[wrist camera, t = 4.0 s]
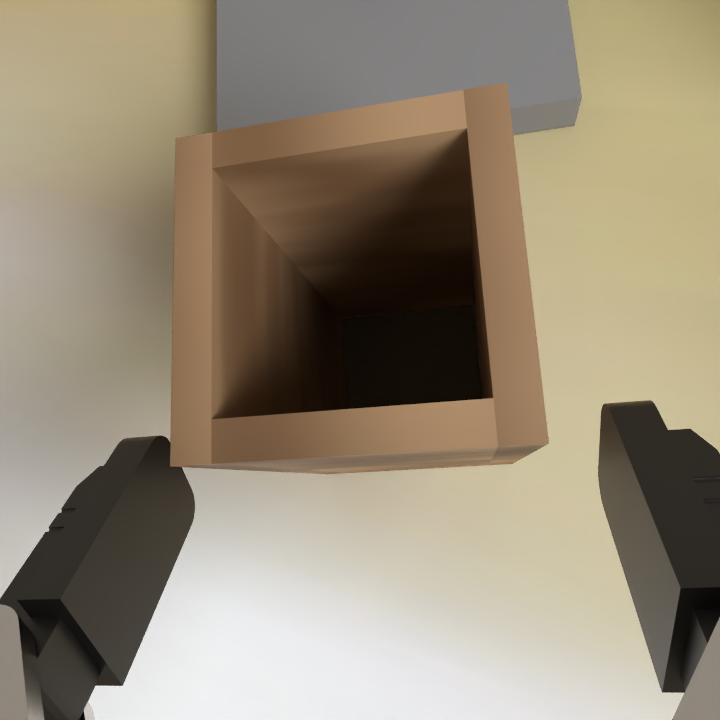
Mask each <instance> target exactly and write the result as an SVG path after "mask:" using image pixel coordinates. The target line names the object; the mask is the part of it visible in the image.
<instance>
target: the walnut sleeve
mask: <svg viewBox="0 0 720 720" xmlns="http://www.w3.org/2000/svg"><path fill="white" fill-rule="evenodd" d="M468 305H474V311H475V322H476V333H477V343H478V354H479V365H480V375H481V386H482V397H483V399H475V400H462V401H448V402H435V403H422V404H409V405H395V406H382V407H369V408H356V409H345V392H344V370H343V347H342V325H341V319H343V318H353V317H362V316H372V315H382V314H391V313H401V312H411V311H420V310H430V309H439V308H449V307H459V306H468ZM547 444H549V441H548V432H547V424H546V415H545V406H544V398H543V389H542V380H541V372H540V363H539V355H538V346H537V337H536V329H535V320H534V311H533V303H532V294H531V285H530V277H529V268H528V259H527V251H526V242H525V233H524V225H523V216H522V207H521V199H520V190H519V181H518V173H517V164H516V155H515V147H514V138H513V129H512V121H511V112H510V103H509V95H508V86H507V83H501V84H495V85H489V86H483V87H477V88H471V89H465V90H459V91H453V92H448V93H442V94H436V95H430V96H424V97H418V98H412V99H406V100H400V101H394V102H388V103H382V104H377V105H371V106H365V107H359V108H353V109H347V110H341V111H335V112H329V113H323V114H317V115H311V116H305V117H300V118H294V119H288V120H282V121H276V122H270V123H264V124H258V125H252V126H246V127H240V128H234V129H228V130H223V131H217V132H211V133H205V134H199V135H193V136H187V137H181V138H176V153H175V212H174V270H173V329H172V388H171V446H170V466H171V467H192V468H213V469H233V470H254V471H275V472H296V473H316V474H336V473H354V472H372V471H390V470H408V469H426V468H444V467H462V466H480V465H498V464H513V463H515V462H516V461H518V460H520V459H522V458H524V457H525V456H527V455H529V454H531V453H532V452H534V451H536V450H538V449H540V448H541V447H543V446H545V445H547Z"/></svg>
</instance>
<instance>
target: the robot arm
mask: <svg viewBox="0 0 720 720" xmlns="http://www.w3.org/2000/svg"><path fill="white" fill-rule="evenodd" d="M170 446H171V443H170V442H169V440H168V439H167V438H166V437H164V436H150V437H136V438H126V439H123V440H122V441H121V442H120V443H119V444H118V445H117V447H116V448H115V450H114V451H113V453H112V454H111V456H110V457H109V459H108V460H107V462H106V464H105V465H104V466H99V467H98V468H97V469H96V470H95V471H94V472H93V473H91V474H90V475H89V476H88V477H87V478H86V479H85V480H83V481H82V482H81V483H80V484H79V485H78V486H77V487H76V488H75V490H74V491H73V493H72V494H71V495H70V497H69V498H68V500H67V501H66V503H65V504H64V506H63V507H62V512H61V513H58V515H57V516H56V518H55V519H54V520H53V522H52V523H51V525H50V526H49V532H45V534H44V535H43V537H42V538H41V540H40V541H39V543H38V544H37V545H36V547H35V548H34V550H33V551H32V553H31V554H30V556H29V557H28V559H27V560H26V562H25V563H24V565H23V566H22V568H21V569H20V570H19V572H18V573H17V575H16V576H15V578H14V579H13V581H12V582H11V584H10V585H9V587H8V588H7V590H6V591H5V593H4V594H3V595H2V597H1V598H0V720H95V717H94V713H93V709H92V707H91V706H90V704H89V703H88V700H89V698H90V696H91V694H92V691H93V689H94V687H95V685H103V686H123V684H124V681H125V679H126V677H127V674H128V672H129V670H130V667H131V665H132V663H133V660H134V658H135V656H136V653H137V651H138V649H139V646H140V644H141V642H142V639H143V637H144V635H145V632H146V630H147V628H148V625H149V623H150V621H151V618H152V616H153V614H154V611H155V609H156V607H157V604H158V602H159V600H160V597H161V595H162V593H163V590H164V588H165V586H166V583H167V581H168V579H169V576H170V574H171V572H172V569H173V567H174V565H175V562H176V560H177V558H178V555H179V553H180V551H181V548H182V546H183V544H184V541H185V539H186V537H187V534H188V532H189V530H190V527H191V525H192V522H193V518H194V512H195V501H194V495H193V492H192V489H191V487H190V485H189V483H188V480H187V478H186V476H185V474H184V472H183V469H182V467H171V466H170ZM598 477H599V487H600V494H601V499H602V503H603V507H604V510H605V513H606V517H607V520H608V523H609V526H610V529H611V532H612V536H613V539H614V542H615V545H616V548H617V551H618V555H619V558H620V561H621V564H622V567H623V570H624V574H625V577H626V580H627V583H628V586H629V589H630V593H631V596H632V599H633V602H634V605H635V608H636V612H637V615H638V618H639V621H640V624H641V627H642V631H643V634H644V637H645V640H646V643H647V646H648V650H649V653H650V656H651V659H652V662H653V665H654V669H655V672H656V675H657V678H658V681H659V684H660V688H661V691H662V692H683V693H684V695H683V698H682V700H681V702H680V704H679V706H678V708H677V711H676V713H675V715H674V717H673V719H672V720H720V454H719V452H718V450H717V449H716V448H714V447H713V446H712V445H710V444H709V443H708V442H707V441H705V440H704V439H703V438H701V437H700V436H699V435H698V434H696V433H695V432H694V431H693V430H691V429H680V430H668V429H667V427H666V425H665V423H664V421H663V419H662V417H661V415H660V413H659V412H658V410H657V408H656V406H655V404H654V403H653V402H652V401H650V400H649V401H635V402H622V403H609V404H604V405H603V406H602V411H601V426H600V446H599V465H598Z"/></svg>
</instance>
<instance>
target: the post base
mask: <svg viewBox="0 0 720 720" xmlns="http://www.w3.org/2000/svg"><path fill="white" fill-rule="evenodd" d="M501 83H507V86H508V95H509V103H510V112H511V121H512V129H513V135H515V134H522V133H528V132H535V131H541V130H548V129H555V128H561V127H568V126H574V125H575V121H576V117H577V114H578V110H579V106H580V102H581V98H582V96H581V89H580V82H579V75H578V68H577V61H576V54H575V47H574V40H573V33H572V26H571V20H570V13H569V6H568V0H217V131H223V130H228V129H234V128H240V127H246V126H252V125H258V124H264V123H270V122H276V121H282V120H288V119H294V118H300V117H305V116H311V115H317V114H323V113H329V112H335V111H341V110H347V109H353V108H359V107H365V106H371V105H377V104H382V103H388V102H394V101H400V100H406V99H412V98H418V97H424V96H430V95H436V94H442V93H448V92H453V91H459V90H465V89H471V88H477V87H483V86H489V85H495V84H501Z"/></svg>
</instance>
